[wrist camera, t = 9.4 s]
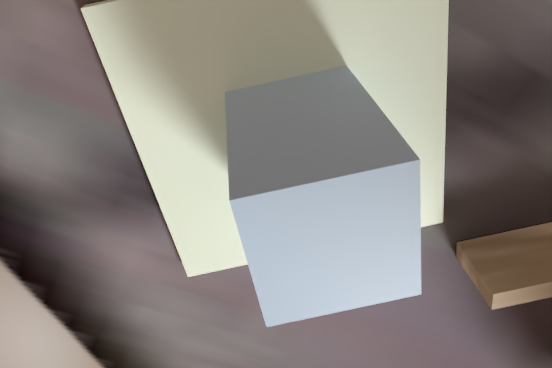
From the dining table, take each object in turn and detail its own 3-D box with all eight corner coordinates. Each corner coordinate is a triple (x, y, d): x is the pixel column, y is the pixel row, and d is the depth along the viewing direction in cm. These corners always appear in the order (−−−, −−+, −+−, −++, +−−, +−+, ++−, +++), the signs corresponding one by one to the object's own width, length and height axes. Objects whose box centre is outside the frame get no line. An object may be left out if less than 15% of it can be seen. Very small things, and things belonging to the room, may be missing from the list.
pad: (437, 214, 21) (443, 222, 21) (188, 268, 21) (188, 277, 21) (442, -74, 15) (450, -73, 14) (84, 4, 15) (80, 8, 14)
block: (357, 170, 19) (421, 294, 13) (251, 193, 19) (266, 327, 13) (346, 65, 16) (420, 159, 10) (225, 92, 16) (229, 200, 10)
